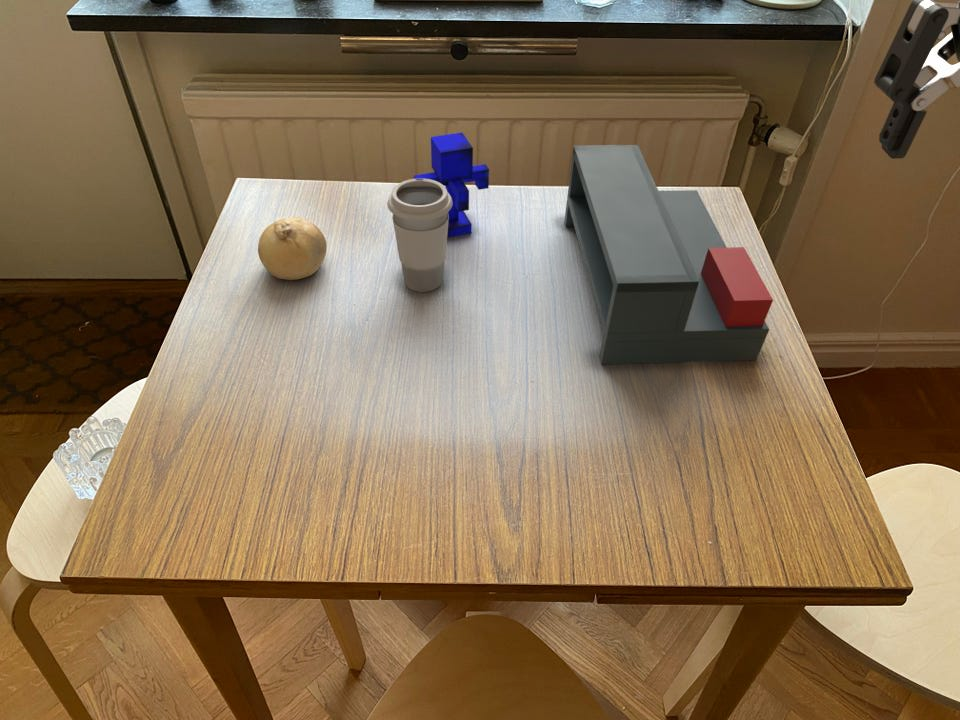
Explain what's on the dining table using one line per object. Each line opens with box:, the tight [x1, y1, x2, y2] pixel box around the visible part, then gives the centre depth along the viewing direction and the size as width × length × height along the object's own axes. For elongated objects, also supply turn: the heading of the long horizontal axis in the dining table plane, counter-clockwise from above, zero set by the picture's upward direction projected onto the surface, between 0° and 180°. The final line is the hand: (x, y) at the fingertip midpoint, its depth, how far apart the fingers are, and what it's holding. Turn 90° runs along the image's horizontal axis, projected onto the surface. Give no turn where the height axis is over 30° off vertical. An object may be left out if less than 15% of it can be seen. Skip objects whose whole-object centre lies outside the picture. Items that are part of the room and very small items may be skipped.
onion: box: [257, 217, 328, 281], centre depth 83 cm, size 8×8×7 cm
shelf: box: [564, 144, 770, 365], centre depth 81 cm, size 27×17×11 cm, turn 4°
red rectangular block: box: [701, 246, 774, 327], centre depth 75 cm, size 9×4×4 cm, turn 4°
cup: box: [386, 178, 453, 293], centre depth 81 cm, size 7×7×12 cm
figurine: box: [413, 132, 490, 238], centre depth 89 cm, size 8×8×12 cm
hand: (947, 153), depth 52 cm, fingers open, 8 cm apart
